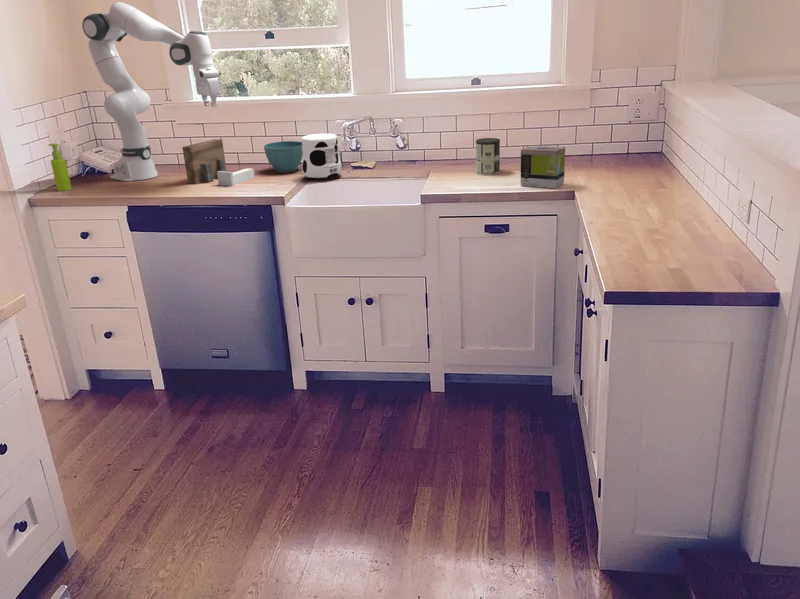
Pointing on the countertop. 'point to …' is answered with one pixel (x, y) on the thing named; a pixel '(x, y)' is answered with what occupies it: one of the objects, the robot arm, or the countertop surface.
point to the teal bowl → (284, 155)
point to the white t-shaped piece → (234, 176)
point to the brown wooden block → (204, 161)
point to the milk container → (320, 156)
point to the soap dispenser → (60, 170)
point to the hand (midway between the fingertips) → (210, 106)
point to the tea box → (542, 166)
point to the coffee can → (488, 156)
